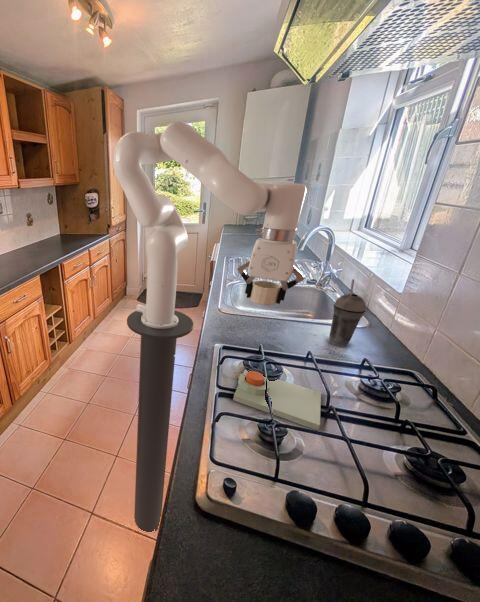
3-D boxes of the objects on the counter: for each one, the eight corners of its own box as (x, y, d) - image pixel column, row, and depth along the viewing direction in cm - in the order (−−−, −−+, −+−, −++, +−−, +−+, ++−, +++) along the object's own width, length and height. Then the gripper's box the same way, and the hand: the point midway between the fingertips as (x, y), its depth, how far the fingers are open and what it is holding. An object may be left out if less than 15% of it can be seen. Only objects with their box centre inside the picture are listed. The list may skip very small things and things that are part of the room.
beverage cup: (359, 349, 87) (382, 284, 79) (331, 348, 88) (351, 283, 80) (344, 337, 93) (364, 276, 86) (318, 336, 94) (336, 275, 87)
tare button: (244, 383, 70) (245, 376, 69) (247, 375, 73) (248, 369, 72) (261, 388, 68) (262, 382, 67) (264, 380, 71) (265, 374, 70)
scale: (231, 399, 69) (233, 389, 67) (243, 373, 78) (244, 363, 76) (318, 430, 60) (322, 419, 59) (319, 397, 69) (322, 386, 68)
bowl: (247, 302, 83) (250, 285, 81) (251, 295, 88) (255, 279, 86) (275, 308, 80) (279, 290, 78) (278, 300, 85) (282, 283, 83)
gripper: (238, 233, 79) (227, 296, 86) (318, 241, 69) (299, 311, 76) (244, 229, 84) (233, 289, 91) (319, 236, 75) (301, 301, 82)
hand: (263, 298), depth 84 cm, fingers closed on bowl, 6 cm apart
